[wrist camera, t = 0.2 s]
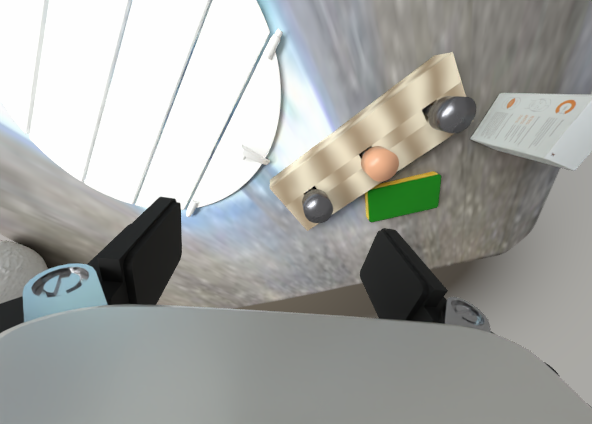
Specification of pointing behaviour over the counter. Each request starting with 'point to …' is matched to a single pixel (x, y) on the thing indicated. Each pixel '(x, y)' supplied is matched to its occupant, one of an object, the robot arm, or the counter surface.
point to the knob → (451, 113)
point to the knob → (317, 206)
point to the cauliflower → (17, 269)
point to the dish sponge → (403, 196)
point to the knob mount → (371, 139)
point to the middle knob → (379, 163)
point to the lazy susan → (143, 92)
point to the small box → (540, 127)
